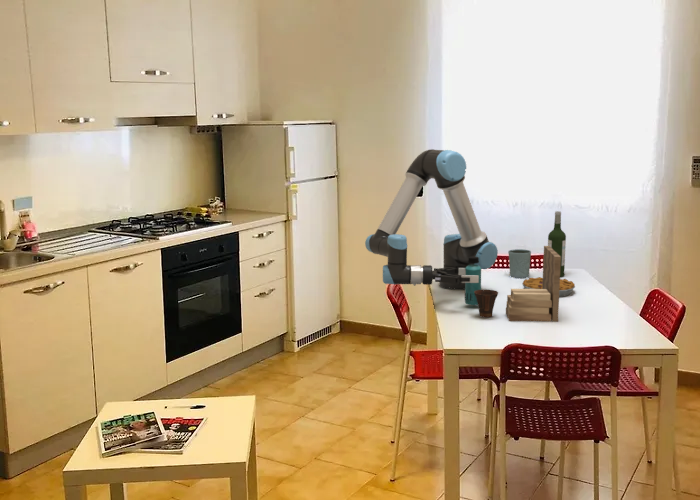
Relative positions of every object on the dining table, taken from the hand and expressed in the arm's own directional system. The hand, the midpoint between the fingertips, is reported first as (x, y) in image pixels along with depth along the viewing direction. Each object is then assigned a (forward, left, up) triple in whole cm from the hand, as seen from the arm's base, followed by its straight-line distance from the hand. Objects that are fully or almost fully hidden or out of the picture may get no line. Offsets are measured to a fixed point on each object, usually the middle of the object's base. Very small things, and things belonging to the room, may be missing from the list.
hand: (476, 275), depth 291 cm
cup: (+14, +2, -13) cm, 19 cm away
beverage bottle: (0, -1, -13) cm, 13 cm away
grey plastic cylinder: (-55, +25, -13) cm, 62 cm away
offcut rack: (+9, +19, -13) cm, 24 cm away
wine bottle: (-57, +42, -13) cm, 72 cm away
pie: (-26, +33, -13) cm, 44 cm away
